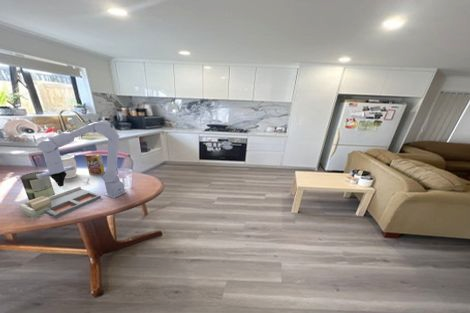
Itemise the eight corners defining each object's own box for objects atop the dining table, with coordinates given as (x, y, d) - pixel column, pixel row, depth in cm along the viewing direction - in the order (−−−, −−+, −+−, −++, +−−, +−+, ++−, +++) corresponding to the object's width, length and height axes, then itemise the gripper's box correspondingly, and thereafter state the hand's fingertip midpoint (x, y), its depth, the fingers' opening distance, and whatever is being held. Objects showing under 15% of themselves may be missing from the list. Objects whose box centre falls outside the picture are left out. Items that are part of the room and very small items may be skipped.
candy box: (88, 174, 127) (84, 155, 123) (92, 172, 131) (88, 153, 127) (101, 174, 128) (97, 155, 124) (105, 172, 132) (101, 153, 128)
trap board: (101, 198, 98) (99, 191, 97) (44, 223, 76) (41, 215, 75) (80, 191, 104) (78, 184, 103) (23, 212, 83) (19, 204, 82)
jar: (71, 173, 128) (66, 154, 124) (82, 174, 127) (78, 155, 123) (55, 178, 118) (49, 158, 114) (67, 180, 117) (62, 160, 113)
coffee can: (23, 203, 90) (14, 179, 86) (35, 194, 99) (28, 172, 95) (49, 200, 94) (41, 177, 90) (59, 191, 103) (52, 170, 99)
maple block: (51, 205, 86) (49, 198, 85) (35, 211, 81) (32, 204, 80) (45, 202, 88) (43, 195, 87) (28, 208, 83) (26, 201, 82)
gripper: (67, 157, 95) (73, 179, 99) (29, 165, 82) (38, 190, 86) (74, 159, 93) (80, 181, 97) (37, 167, 80) (46, 193, 84)
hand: (61, 185), depth 91 cm, fingers closed
